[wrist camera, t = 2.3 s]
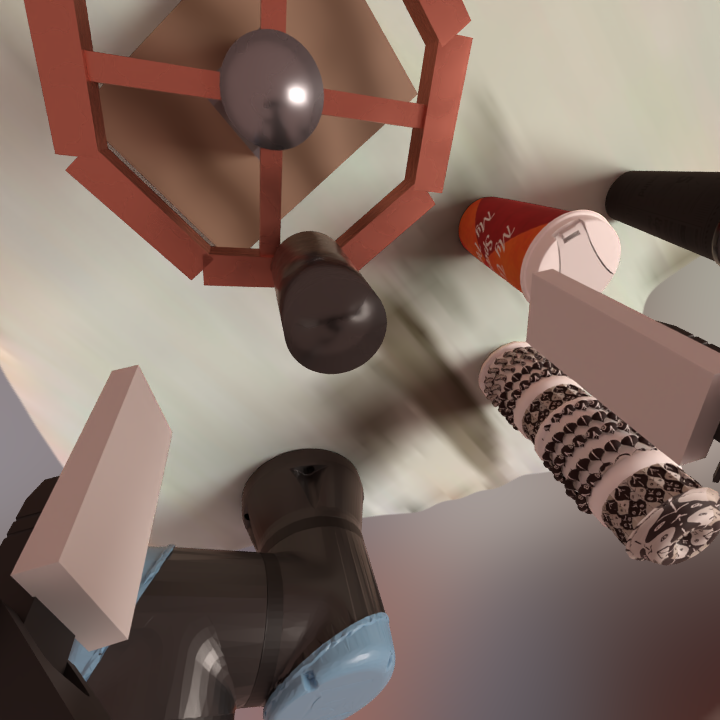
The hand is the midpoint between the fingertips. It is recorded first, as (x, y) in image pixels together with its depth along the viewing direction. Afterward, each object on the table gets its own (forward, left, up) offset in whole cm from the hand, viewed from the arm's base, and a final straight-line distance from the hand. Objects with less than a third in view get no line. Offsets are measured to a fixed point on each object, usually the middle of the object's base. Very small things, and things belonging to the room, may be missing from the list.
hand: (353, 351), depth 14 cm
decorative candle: (+8, -32, -27) cm, 43 cm away
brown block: (+4, +7, -27) cm, 28 cm away
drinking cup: (+28, -22, -27) cm, 44 cm away
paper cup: (+14, -14, -27) cm, 33 cm away
